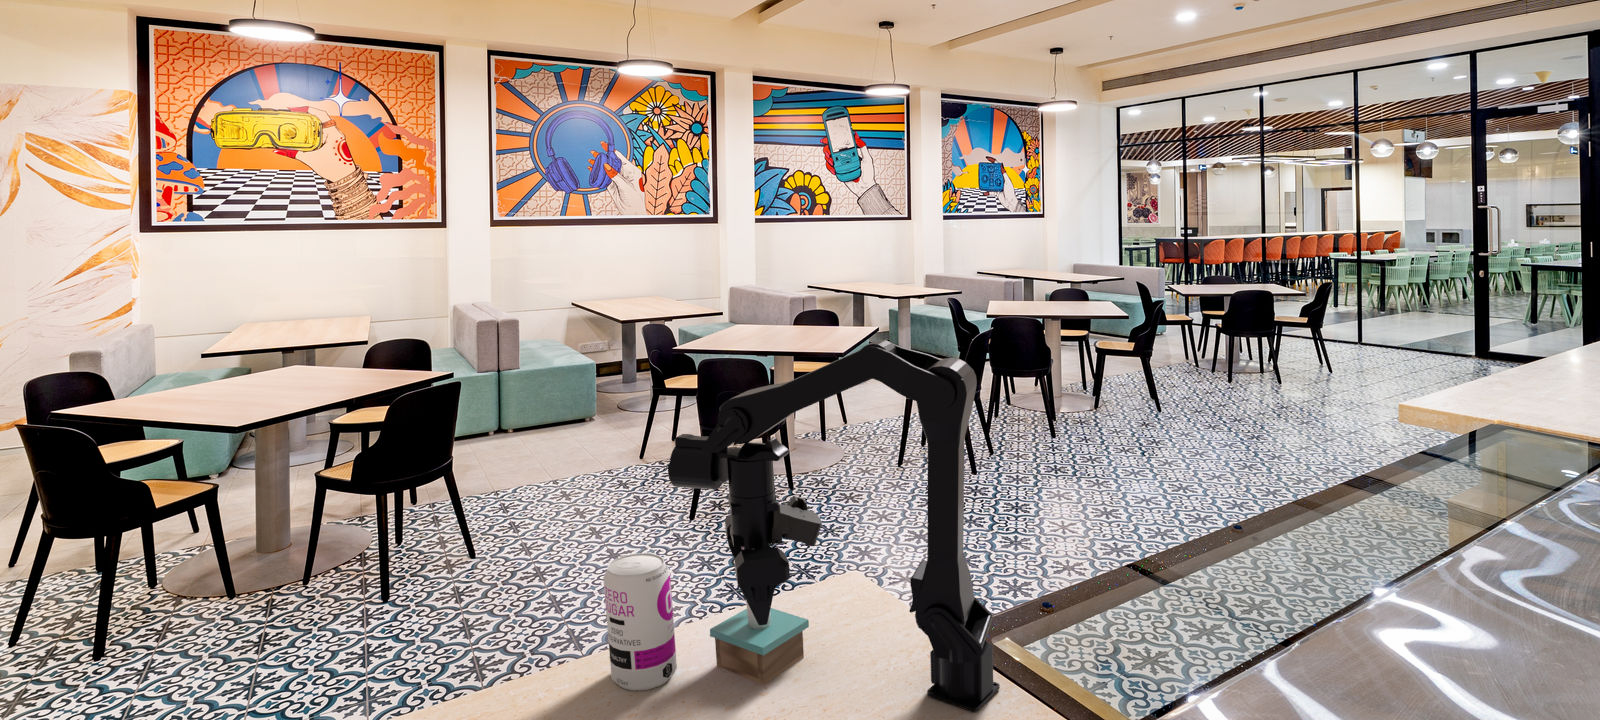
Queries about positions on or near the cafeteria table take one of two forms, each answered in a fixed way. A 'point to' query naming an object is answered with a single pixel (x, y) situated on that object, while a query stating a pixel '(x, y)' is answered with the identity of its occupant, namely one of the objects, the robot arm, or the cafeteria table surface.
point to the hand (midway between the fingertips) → (758, 608)
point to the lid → (759, 630)
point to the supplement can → (640, 621)
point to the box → (759, 659)
